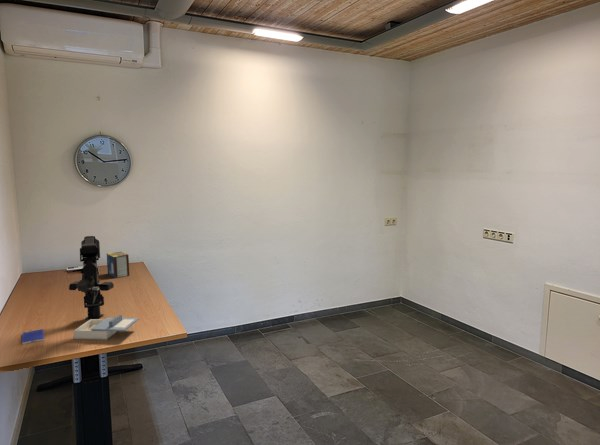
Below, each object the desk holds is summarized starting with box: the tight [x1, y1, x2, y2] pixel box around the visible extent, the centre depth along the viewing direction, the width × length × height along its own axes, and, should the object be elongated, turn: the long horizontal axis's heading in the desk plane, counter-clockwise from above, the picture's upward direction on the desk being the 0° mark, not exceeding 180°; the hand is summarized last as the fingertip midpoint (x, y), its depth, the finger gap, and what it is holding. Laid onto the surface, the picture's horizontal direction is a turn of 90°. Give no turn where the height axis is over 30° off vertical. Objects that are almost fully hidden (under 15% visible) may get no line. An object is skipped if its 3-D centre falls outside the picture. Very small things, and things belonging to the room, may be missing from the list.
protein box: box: [106, 251, 131, 279], centre depth 294 cm, size 10×15×16 cm
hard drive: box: [21, 328, 45, 345], centre depth 184 cm, size 2×8×12 cm
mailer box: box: [73, 318, 118, 341], centre depth 189 cm, size 14×15×4 cm
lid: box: [91, 314, 140, 332], centre depth 188 cm, size 14×15×3 cm
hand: (92, 303), depth 192 cm, fingers closed
